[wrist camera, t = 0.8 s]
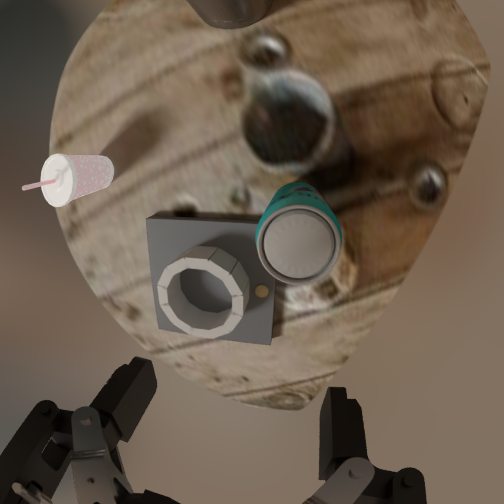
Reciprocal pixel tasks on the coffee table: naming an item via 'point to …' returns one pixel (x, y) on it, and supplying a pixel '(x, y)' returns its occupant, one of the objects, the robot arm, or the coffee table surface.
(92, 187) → the beverage cup
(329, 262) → the beverage can
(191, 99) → the coffee table surface
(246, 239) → the mount plate
